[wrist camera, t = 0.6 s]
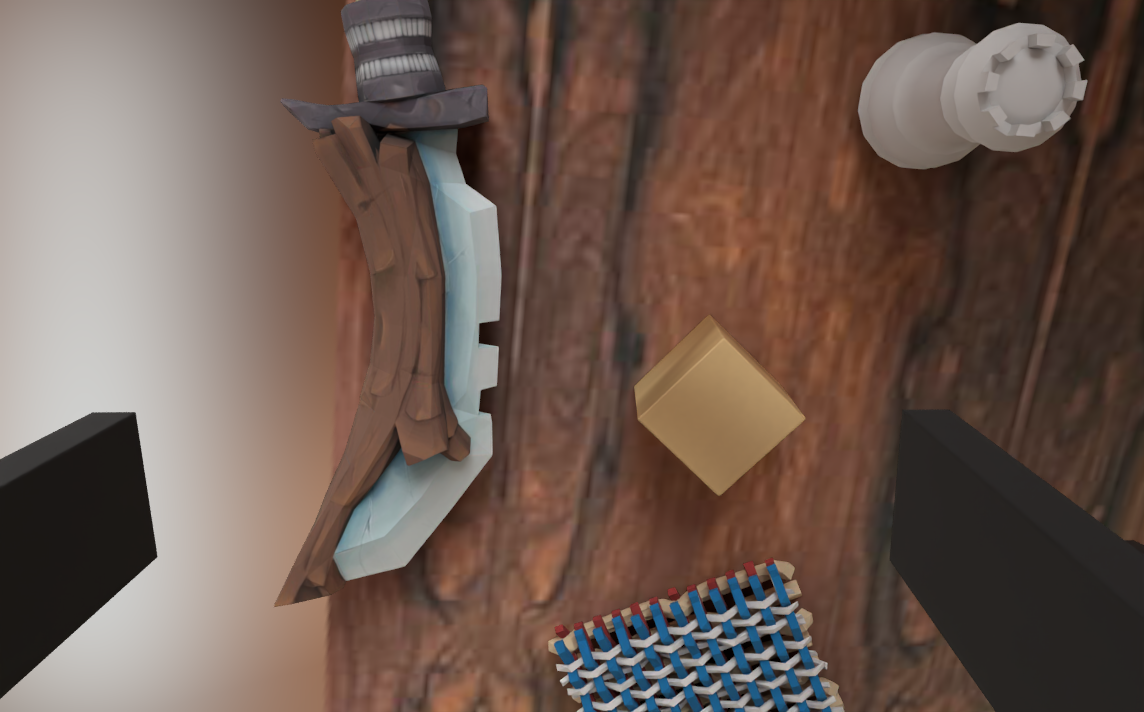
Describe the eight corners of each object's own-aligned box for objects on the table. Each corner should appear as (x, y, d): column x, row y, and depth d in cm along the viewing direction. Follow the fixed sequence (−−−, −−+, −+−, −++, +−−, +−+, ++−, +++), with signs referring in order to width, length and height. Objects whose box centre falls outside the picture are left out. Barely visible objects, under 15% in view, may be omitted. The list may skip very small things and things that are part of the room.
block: (709, 313, 31) (724, 337, 27) (781, 385, 31) (806, 419, 27) (633, 386, 31) (636, 419, 27) (705, 455, 32) (719, 497, 28)
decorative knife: (558, -235, 28) (504, 579, 34) (292, -273, 26) (287, 575, 33) (573, -310, 23) (508, 638, 30) (256, -360, 22) (259, 636, 28)
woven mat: (633, 821, 36) (635, 860, 34) (541, 620, 34) (537, 649, 32) (863, 752, 35) (878, 788, 33) (783, 538, 32) (794, 563, 30)
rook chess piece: (1005, 57, 28) (1158, 20, 20) (954, 184, 29) (1081, 197, 21) (882, 19, 28) (988, -33, 20) (834, 148, 29) (918, 147, 21)
